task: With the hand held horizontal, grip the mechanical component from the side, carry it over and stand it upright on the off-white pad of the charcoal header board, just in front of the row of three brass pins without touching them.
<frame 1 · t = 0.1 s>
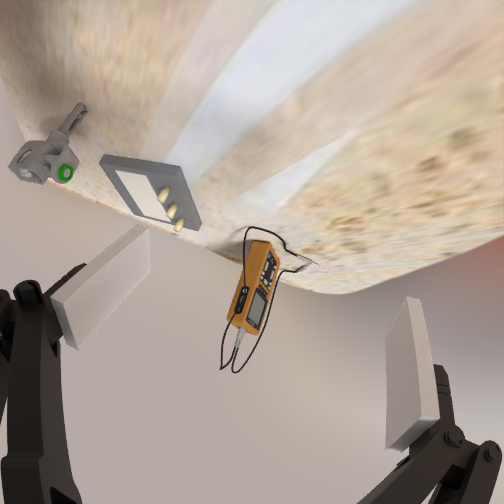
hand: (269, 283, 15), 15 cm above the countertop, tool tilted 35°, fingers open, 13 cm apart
mechanical component: (83, 107, 30), on the countertop
multimeter: (289, 252, 50), on the countertop
header board: (155, 190, 44), on the countertop
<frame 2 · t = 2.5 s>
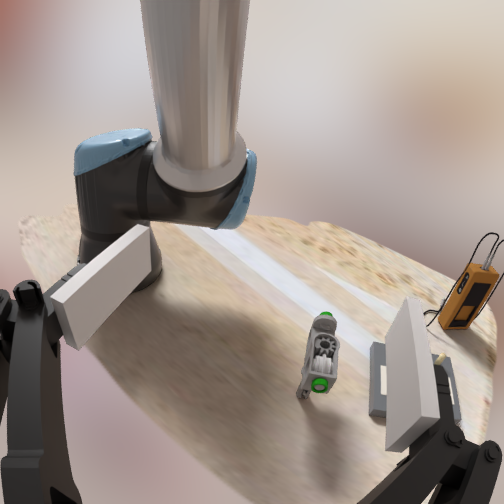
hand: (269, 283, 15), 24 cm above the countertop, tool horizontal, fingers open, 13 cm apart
mechanical component: (301, 395, 36), on the countertop
multimeter: (444, 313, 53), on the countertop
header board: (413, 386, 38), on the countertop
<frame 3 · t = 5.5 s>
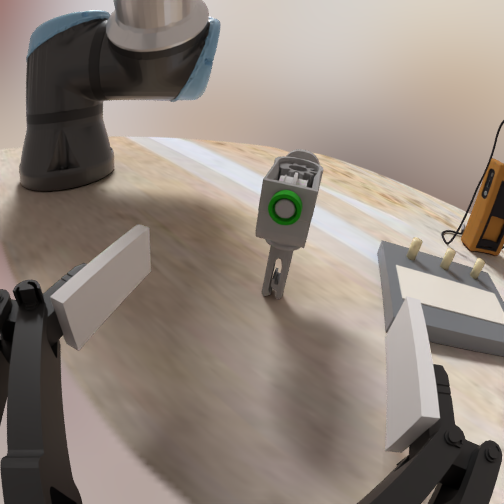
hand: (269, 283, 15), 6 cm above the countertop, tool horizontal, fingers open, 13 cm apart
mechanical component: (271, 295, 24), on the countertop
multimeter: (466, 238, 41), on the countertop
header board: (446, 302, 25), on the countertop
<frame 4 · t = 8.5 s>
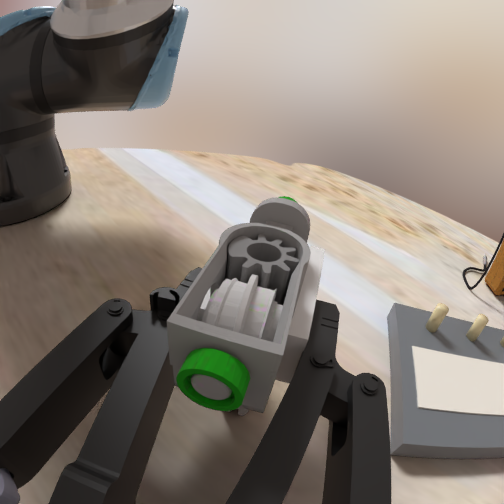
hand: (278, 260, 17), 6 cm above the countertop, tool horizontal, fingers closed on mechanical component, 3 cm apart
mechanical component: (235, 406, 16), on the countertop, touching gripper
multimeter: (489, 274, 32), on the countertop
header board: (470, 388, 17), on the countertop
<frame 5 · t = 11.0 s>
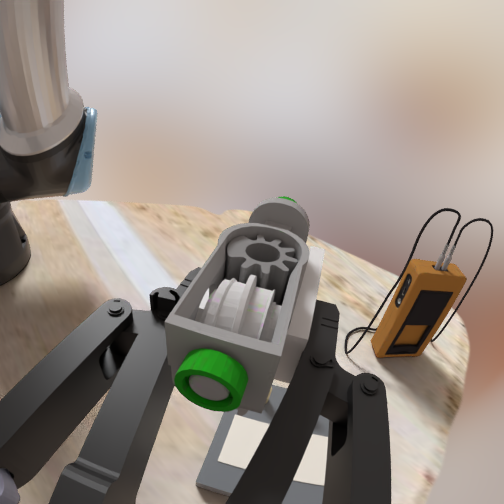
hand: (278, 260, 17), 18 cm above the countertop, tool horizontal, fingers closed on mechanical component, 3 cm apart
mechanical component: (234, 407, 16), point 12 cm above the countertop, touching gripper
multimeter: (386, 332, 40), on the countertop
header board: (292, 451, 24), on the countertop
when the fingers open (8 cm above the countertop, at t = 13.9 s): mechanical component stays where it is, resting on header board.
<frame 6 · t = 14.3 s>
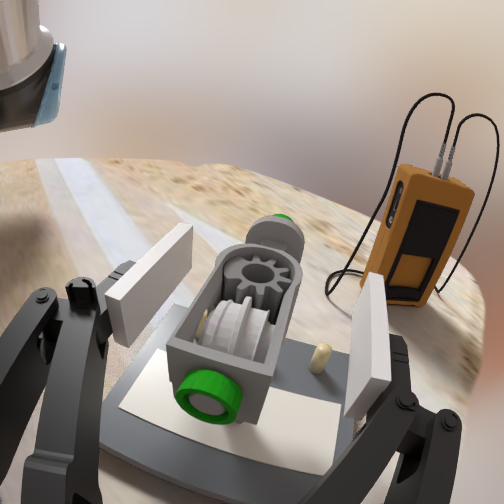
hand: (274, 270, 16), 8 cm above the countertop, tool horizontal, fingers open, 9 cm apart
mechanical component: (232, 415, 16), point 1 cm above the countertop, touching header board
multimeter: (380, 278, 33), on the countertop
header board: (236, 411, 18), on the countertop
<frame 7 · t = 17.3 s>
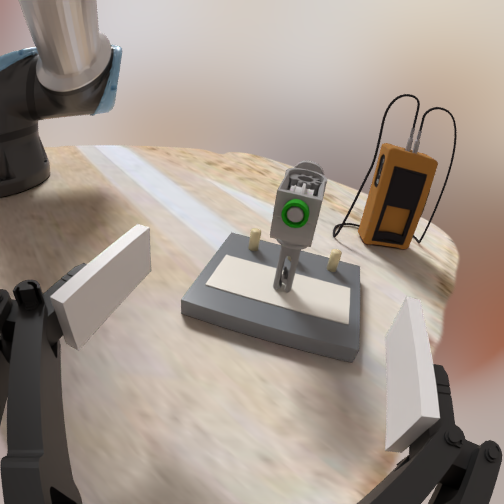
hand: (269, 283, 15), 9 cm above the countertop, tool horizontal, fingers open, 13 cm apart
mechanical component: (281, 289, 27), point 1 cm above the countertop, touching header board
multimeter: (373, 231, 44), on the countertop
header board: (281, 294, 29), on the countertop
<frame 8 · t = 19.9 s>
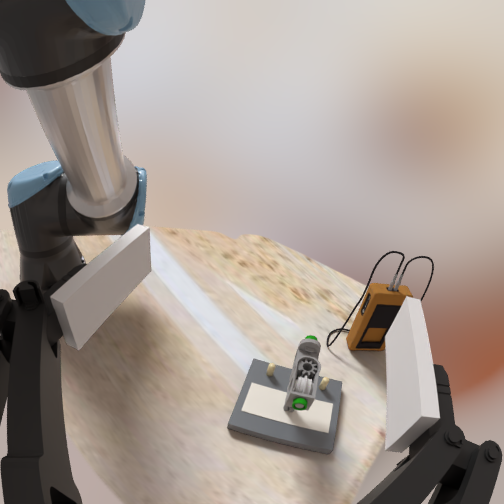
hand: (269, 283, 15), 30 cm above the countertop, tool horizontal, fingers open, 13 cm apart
mechanical component: (288, 409, 39), point 1 cm above the countertop, touching header board
multimeter: (359, 332, 56), on the countertop
header board: (288, 407, 41), on the countertop
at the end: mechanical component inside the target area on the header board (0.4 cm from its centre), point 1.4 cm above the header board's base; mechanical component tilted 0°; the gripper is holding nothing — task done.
